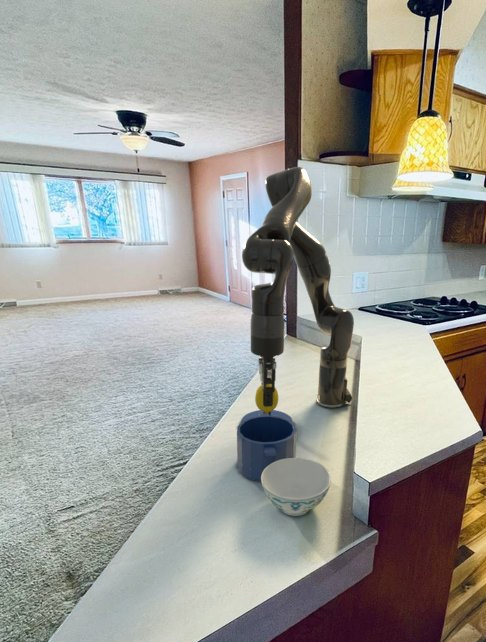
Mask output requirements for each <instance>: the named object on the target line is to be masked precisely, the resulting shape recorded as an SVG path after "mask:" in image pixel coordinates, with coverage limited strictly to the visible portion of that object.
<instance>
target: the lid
mask: <svg viewBox="0 0 486 642" xmlns="http://www.w3.org/2000/svg"><path fill="white" fill-rule="evenodd" d="M260 413H265V412H263V411H261V410H260V409H258V410H254V411H250V412H248V413H246V414H244V416H242V418H241V420H240V423H241V422H242V421H244V420H246V419H248V418H251V417H256V416H259V414H260ZM268 414H269V415H271V416H278V417H283V418H285V419H288V420H290V421H291V422H292V423H294V422H293V418H292V417H291V416H290V415H289V414H288V413H286V412H283V411H280V410H275V409H274V410H272V411H270V412H268Z"/></svg>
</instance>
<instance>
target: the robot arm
mask: <svg viewBox="0 0 486 642" xmlns="http://www.w3.org/2000/svg"><path fill="white" fill-rule="evenodd" d="M264 185H265V186H264V187H265V190H266V194H267V197H268V200H269V203H270V205H271V208H270V209H269V210H268V211H267V213H266V215H265V216H264V218H263V221H262V223H261V226H260V227H259V228H258V229H257V230H255V231H254V232H253V233H252V234H250V236H249V237H248V238H247V239H246V241H245V243H244V245H243V247H242V252H241V260H242V263H243V266H244V267H245V268H246V270H247V271H249V272H250V273H255V274H268V275H269V274H270V275H274V279H273V280H272V281H270V282H267V283H260V284H256V285H254V286H253V287H252V289H251V316H250V352H251V353H252V355H255V356H258V357H259V358H257V363H258V364H257V366H258V374H259V378H260V379H259V380H260V382H261V384H260V386H261V385H262V384H263V388H262V391H263V406H265V407H269V406H272V405H273V392H274V391H275V388H276V386H275V385H276V381H277V379H276V377H277V376H276V373H277V371H276V370H277V361H276V358H275V357H276V356H277V357H278V356H280V355H282V354H284V352H285V318H284V317H285V316H284V315H285V313H284V310H285V309H284V308H285V303H284V302H285V292H286V291H285V290H286V285H287V283H288V282H287V281H288V278H289V274H290V271H291V268H292V265H293V262H295V264H296V267H297V270H298V272H299V274H300V277H301V279H302V281H303V284H304V286H305V289H306V292H307V295H308V297H309V300H310V302H311V307H312V311H313V314H314V319H315V321H316V325H317V327H318V329H319V330H320V332H322V333H324V334H325V335H329V336H330V339H329V343H326V344H323V345H322V346H321V347H320V350H319V367H318V384H317V387H318V388H317V394H316V397H317V399H316V403H317V404H318V405H319V406H320V407H324V408H329V409H337V408H341V407H342V406H343V407H344V406H346V403H348V404H350V403H351V402H352V400H353V396H352V394H351V392H350V391H349V390H348V379H347V368H348V356H349V352H350V350H351V347H352V341H353V334H354V333H353V332H354V326H355V322H354V321H355V320H354V315H353V313H352V312H351V311H350V310H348V309H344V308H341V307H337V306H336V305H335V304H334V302H333V299H332V296H331V294H330V290H329V287H330V281H331V276H332V268H331V263H330V260H329V258H328V254H327V251H326V249H325V246H324V245H323V244H322V243H321V242H320V240H318V239H317V238H316V237H315V236H313V235H312V234H311V233H310V232H309V231H307V230H306V229H305V228H304V227H303V226H302V225H300V223H299V222H298V220H299V218H301V215H302V214H303V213H304V211H305V210H306V208H307V207H308V205H309V204H310V202H311V200H312V195H313V194H312V193H313V190H312V184H311V180H310V177H309V174H308V173H307V171H306V170H305V169H304V168H303V167H301V166H294V167H291V168H286V169H284V170H281V171H278V172H275V173H272V174H270V175H268V176H267V177H266V178H265V184H264ZM266 384H271V387H266Z"/></svg>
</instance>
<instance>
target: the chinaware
mask: <svg viewBox="0 0 486 642" xmlns="http://www.w3.org/2000/svg"><path fill="white" fill-rule="evenodd" d="M260 482H261V486H262V489H263V492H264V494H265V496H266V498H267V499H268V501H269V502H270V503H271V504H272V506H273V507H276V508H277V509H279V510H281V511H282V512H283V513H284V514H286V515H288V516H293V517H298V516H303V515H305V514H306V513H307V512H309V511H311V510H313V509H315V508H316V507H317V506H319V504H321V503H322V501H323V500H324V499H325V498H326V496H327V494H328V492H329V489H330V488H331V487H330V486H331V483H332V476H331V474H330V471H329V469H327V468H326V467H325V466H324V465H323V464H321V463H319V462H317V461H315V460H313V459H307V458H303V457H296V458H287V459H282V460H278V461H276V462H273V463H271V464H270V465H268V466H267V467H266V468H265V469H264V471H263V472H262V475H261V481H260Z"/></svg>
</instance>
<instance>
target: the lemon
mask: <svg viewBox="0 0 486 642" xmlns="http://www.w3.org/2000/svg"><path fill="white" fill-rule="evenodd" d="M266 387H271V384H266ZM262 388H263V384H262V385H261V384H260V385H259V386H258V387H257V389H256V391H255V395H254V399H255V400H254V402H255V405H256V407H257V409H258V410H261V411H263V412H265V413H268V412H270V411H272V410H275V409H276V408H277V406H278V403H279V393H278V390H277V388H276V387H275V391H274V392H273V405H272V406H269V407H265V406H263V391H262Z"/></svg>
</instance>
